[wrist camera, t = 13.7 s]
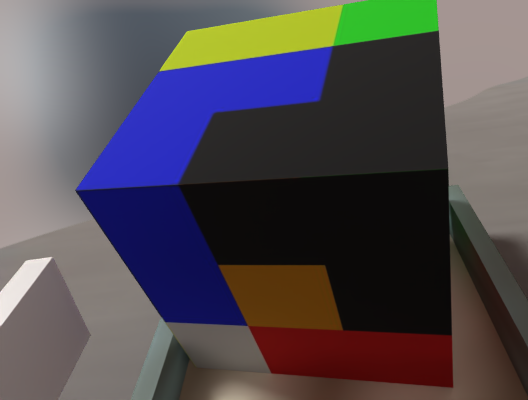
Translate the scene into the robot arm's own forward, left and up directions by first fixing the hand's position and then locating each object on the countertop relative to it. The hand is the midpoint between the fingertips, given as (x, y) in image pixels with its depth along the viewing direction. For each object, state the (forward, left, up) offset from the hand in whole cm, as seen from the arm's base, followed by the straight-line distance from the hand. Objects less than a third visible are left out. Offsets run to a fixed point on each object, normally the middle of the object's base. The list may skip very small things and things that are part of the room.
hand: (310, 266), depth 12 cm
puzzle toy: (0, +8, -6) cm, 10 cm away
